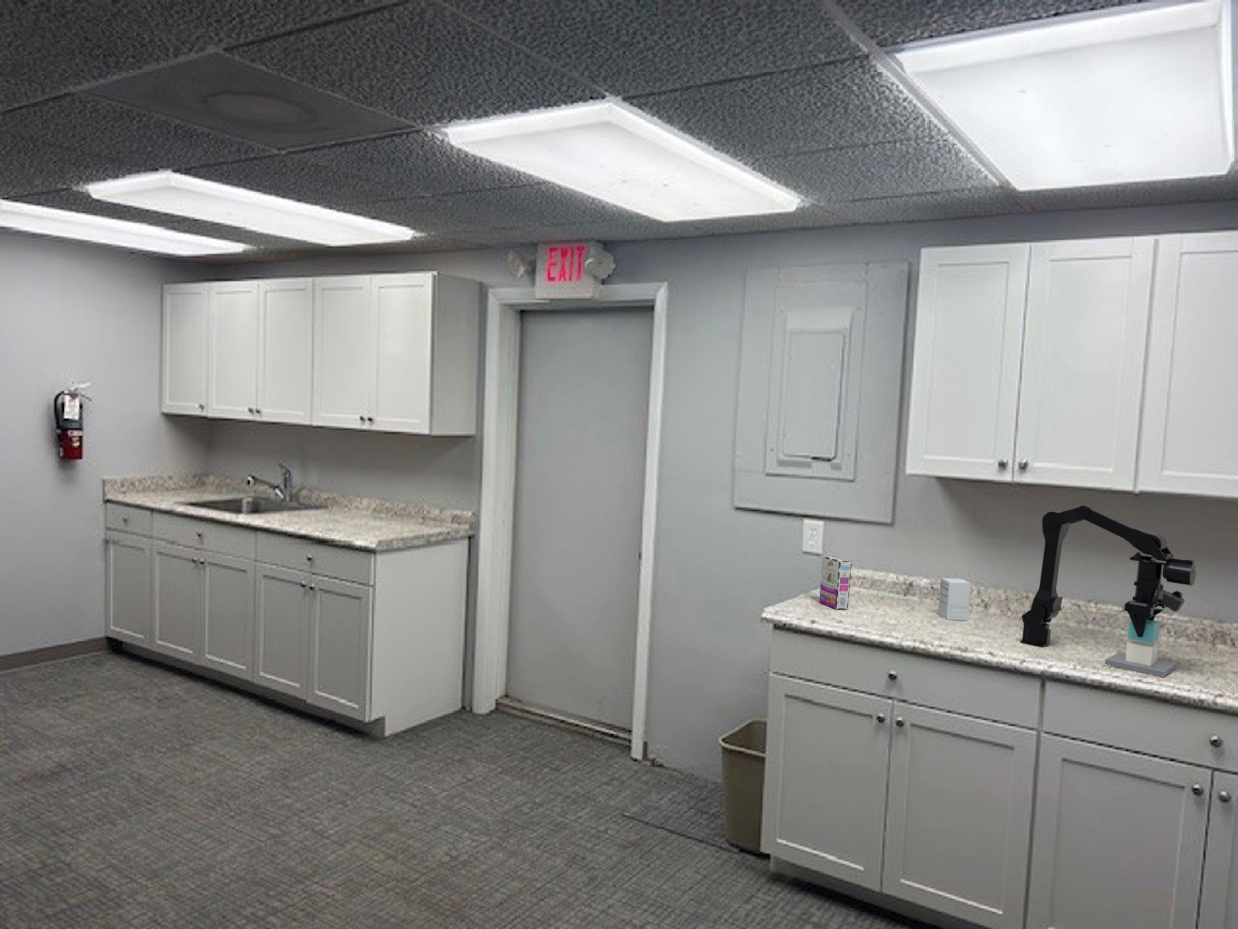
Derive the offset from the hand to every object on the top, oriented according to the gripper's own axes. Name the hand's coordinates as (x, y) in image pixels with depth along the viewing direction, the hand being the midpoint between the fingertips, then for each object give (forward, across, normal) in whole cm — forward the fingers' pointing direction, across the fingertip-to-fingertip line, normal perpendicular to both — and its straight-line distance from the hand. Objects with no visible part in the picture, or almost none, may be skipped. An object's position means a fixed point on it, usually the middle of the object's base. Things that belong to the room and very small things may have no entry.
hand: (1143, 635), depth 240 cm
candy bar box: (+9, -8, +90) cm, 91 cm away
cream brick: (+7, 0, 0) cm, 7 cm away
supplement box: (+9, +13, +58) cm, 60 cm away
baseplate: (+9, 0, 0) cm, 9 cm away
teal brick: (+1, 0, 0) cm, 1 cm away
